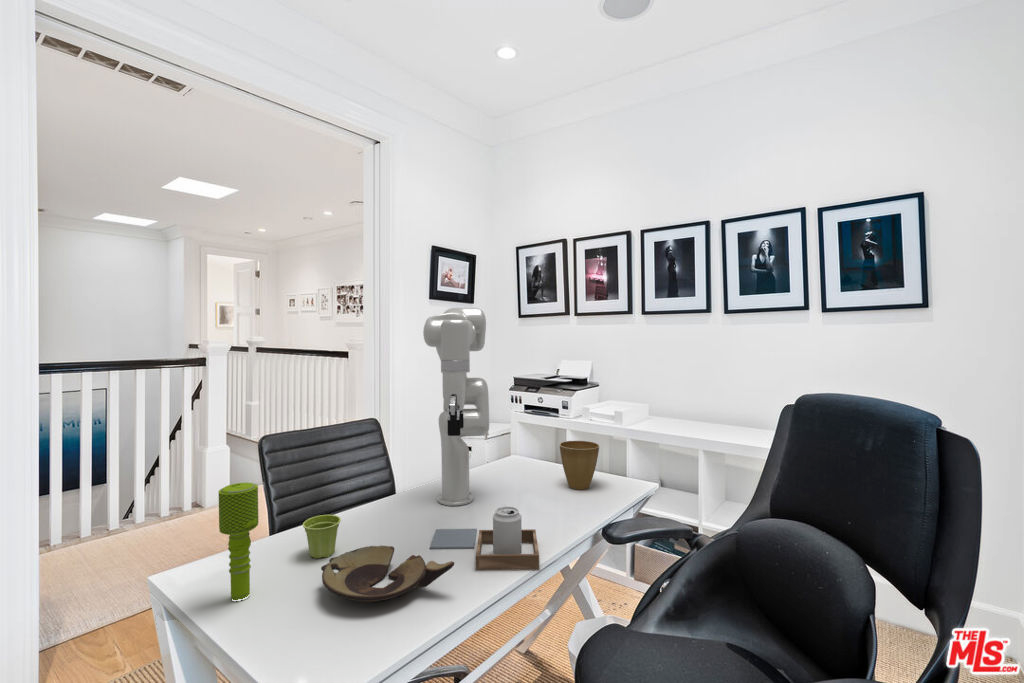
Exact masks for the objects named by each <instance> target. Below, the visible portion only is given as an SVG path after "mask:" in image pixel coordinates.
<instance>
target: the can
mask: <svg viewBox="0 0 1024 683" xmlns="http://www.w3.org/2000/svg"><path fill="white" fill-rule="evenodd" d="M494 512H495V513H494V514H493V515H492V530H493V544H492V550H493V551H492V554H523V553H522V545H523V543H522V530H523V529H522V514H521V513H520V510H519V508H517V507H515V506H507V505H506V506H500V507H498V508H496V509H495V511H494Z"/></svg>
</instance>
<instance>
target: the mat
mask: <svg viewBox="0 0 1024 683" xmlns="http://www.w3.org/2000/svg"><path fill="white" fill-rule="evenodd" d="M477 532H478V528H436V529H435V531H434V533H433V537H432V540H431V542H430V546H429V550H464V549H467V550H469V549H471V550H474V549H475V545H476V538H477Z"/></svg>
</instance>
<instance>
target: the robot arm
mask: <svg viewBox="0 0 1024 683" xmlns="http://www.w3.org/2000/svg"><path fill="white" fill-rule="evenodd" d="M486 331H487V319H486V315H485V312H484V311H483V310H482V309H481V308H480V307H451V308H448V309H447V310H445V311H444V312H443V313H441V314H436V315H432V316H429V317H428V318H426V320H425V323H424V327H423V331H422V333H423V340H424V343H425V344H426V346H428V347H431V348H435V350H436V352H437V355H438V358H439V360H440V373H442V398H443V402H442V403H443V406H442V407H443V411H442V412H441V413H440V414H439V416H438V426H439V427H438V428H439V429H438V430H439V435H440V446H441V448H440V449H441V450H440V451H441V493H440V494H439V495H437V502H438V503H439V504H441V505H444V506H453V507H456V506H463V505H464V506H465V505H467V504H469V503H473V501H474V500H475V496H474V494H473V493H472V492H470V449H469V446H468V445H467V443H466V442H465V441H464V440H463V438H465V437H481V436H482V437H484V436H485V435H487V434H488V433H489V430H490V404H489V401H490V400H489V398H490V396H489V387H488V383H487V381H486V380H485V379H484V378H481V377H468V376H467V373H470V369H471V368H470V366H471V365H470V364H471V363H470V359H471V357H470V356H471V354H470V352H479V351H482V349H483V350H484V346H485V343H486V342H485V341H486ZM465 406H475V408H464V407H465Z"/></svg>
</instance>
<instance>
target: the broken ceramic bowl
mask: <svg viewBox="0 0 1024 683" xmlns="http://www.w3.org/2000/svg"><path fill="white" fill-rule="evenodd" d="M394 554H395V547H394V546H392V545H391V546H390V545H389V546H388V545H371V546H364V547H359V548H356V549H353V550H350V551H347V552H344V553H342V554H339V555H338V556H333V557H331V558H330V559H329V560H328V563H326V564H324V565H321V568H320V569H321V571H322V573H321V581H322V584H323V586H324V587H325V589H326V590H327V591H328V592H330V593H332V594H333V595H336V596H337V597H340V598H344V599H348V600H350V601H351V600H352V601H356V602H378V601H379V602H380V601H383V600H389V599H393V598H396V597H398V596H400V595H403V594H405V593H407V592H409V591H411V590H412V589H414V588H425V587H427V586H429V585H431V584H432V583H433V582H434V581H436V580H437V579H439V578H440V577H441V576H443V575H444V574H445V573H447V572H448V571H449V570H451V569H452V568H453V567H454V566H455V562H454V561H453V560H452V561H451V560H450V561H447V562H445V563H438V562H436V561H434V560H430V561H427V563H426V562H425V559H424V558H423V557H422V556H421V555H417V556H416V555H414V554H412V555H411V556H409V558H406V560H405V561H404V562H402V563H400V565H398V566H397V567H395V568H394V569H393V570H392V571H390V572H389V573H388V570H389V568H390V566H391V562H392V560H393V556H394ZM335 571H337V572H335ZM387 573H388V575H387V577H388V579H392V580H394V581H392V582H389V583H390V584H389V583H388V584H387V585H386V586H384V587H374V585H375V584H377V583H379V582H380V581H382V580H383V578H385V577H386V574H387Z"/></svg>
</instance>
